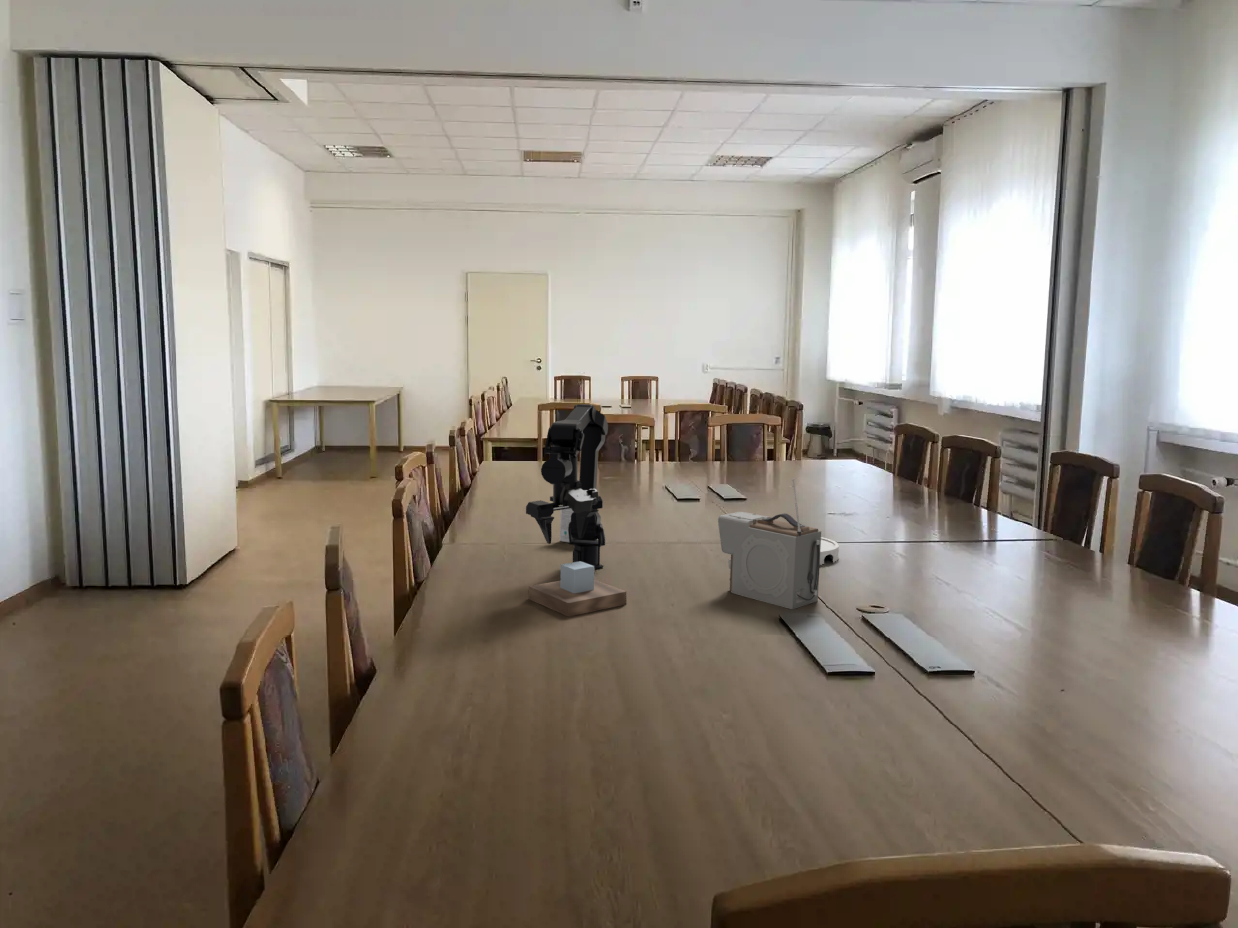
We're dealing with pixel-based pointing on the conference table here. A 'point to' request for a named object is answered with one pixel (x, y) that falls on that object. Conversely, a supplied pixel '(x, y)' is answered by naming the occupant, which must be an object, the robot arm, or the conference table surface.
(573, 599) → the walnut base
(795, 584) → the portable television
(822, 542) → the ashtray
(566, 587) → the slate cube
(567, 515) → the ink cartridge box
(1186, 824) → the conference table surface
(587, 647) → the conference table surface
